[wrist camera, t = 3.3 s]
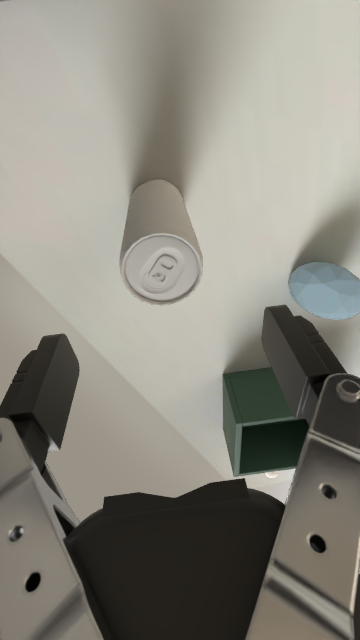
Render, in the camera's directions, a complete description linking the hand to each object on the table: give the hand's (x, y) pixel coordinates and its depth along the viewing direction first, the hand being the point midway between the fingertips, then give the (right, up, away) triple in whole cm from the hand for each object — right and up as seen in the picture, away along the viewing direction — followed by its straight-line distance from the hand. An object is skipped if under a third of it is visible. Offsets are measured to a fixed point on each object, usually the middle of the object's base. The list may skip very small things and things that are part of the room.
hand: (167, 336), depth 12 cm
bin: (+14, -12, +33) cm, 38 cm away
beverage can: (-2, +11, +14) cm, 18 cm away
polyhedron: (+19, -28, +47) cm, 58 cm away
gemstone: (+15, +5, +20) cm, 26 cm away
